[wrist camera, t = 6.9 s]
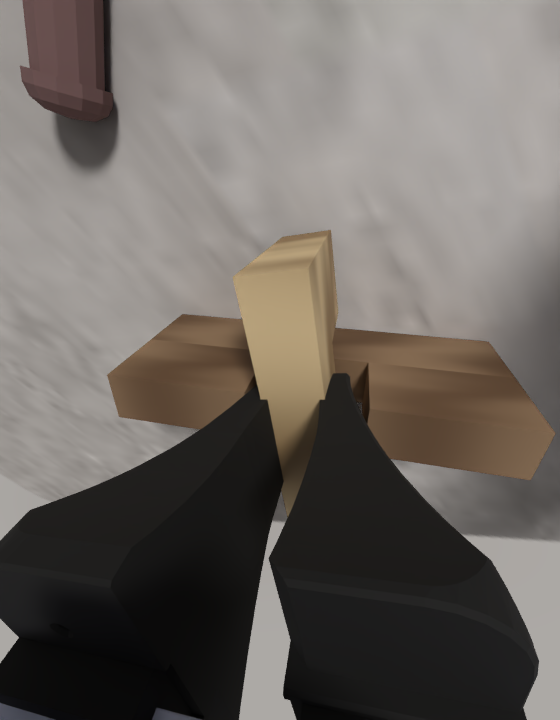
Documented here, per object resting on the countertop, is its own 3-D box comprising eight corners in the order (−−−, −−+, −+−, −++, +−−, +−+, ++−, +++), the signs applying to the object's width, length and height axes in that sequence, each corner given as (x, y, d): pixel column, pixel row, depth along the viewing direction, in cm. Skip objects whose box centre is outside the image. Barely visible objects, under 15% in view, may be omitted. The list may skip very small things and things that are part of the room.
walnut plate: (488, 341, 12) (555, 433, 8) (475, 378, 13) (530, 480, 9) (182, 314, 14) (107, 374, 10) (187, 347, 15) (119, 416, 11)
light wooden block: (282, 236, 11) (232, 277, 7) (330, 230, 11) (308, 268, 7) (314, 443, 15) (294, 548, 11) (350, 444, 15) (343, 553, 11)
